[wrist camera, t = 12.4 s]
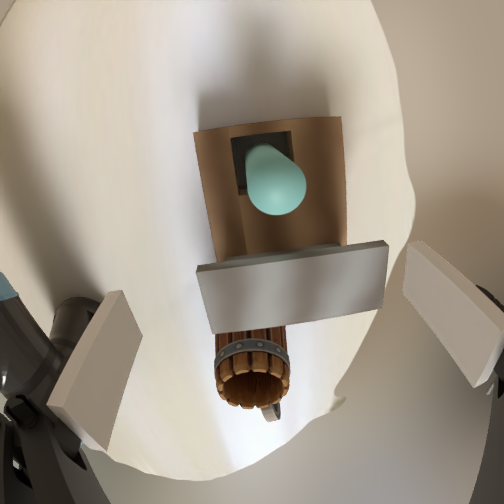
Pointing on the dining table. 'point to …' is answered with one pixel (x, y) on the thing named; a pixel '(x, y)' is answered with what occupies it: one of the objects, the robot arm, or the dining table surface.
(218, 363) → the mug
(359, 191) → the dining table surface
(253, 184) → the peg
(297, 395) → the dining table surface
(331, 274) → the socket block
